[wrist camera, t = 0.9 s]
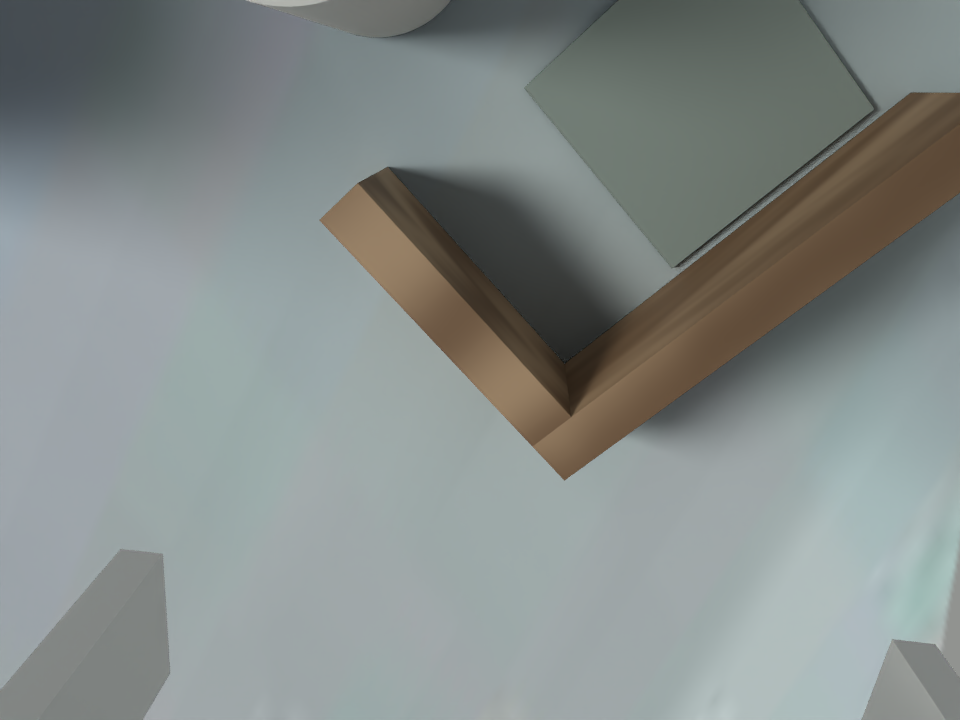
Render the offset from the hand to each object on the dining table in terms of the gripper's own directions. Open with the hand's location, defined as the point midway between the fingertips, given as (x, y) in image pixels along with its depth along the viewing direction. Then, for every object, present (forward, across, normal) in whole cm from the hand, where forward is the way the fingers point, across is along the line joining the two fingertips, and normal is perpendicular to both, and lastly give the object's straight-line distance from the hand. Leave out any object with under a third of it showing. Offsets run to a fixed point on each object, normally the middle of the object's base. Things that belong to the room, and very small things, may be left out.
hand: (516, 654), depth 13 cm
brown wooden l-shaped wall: (+22, +5, +8) cm, 24 cm away
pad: (+22, +6, +10) cm, 25 cm away
